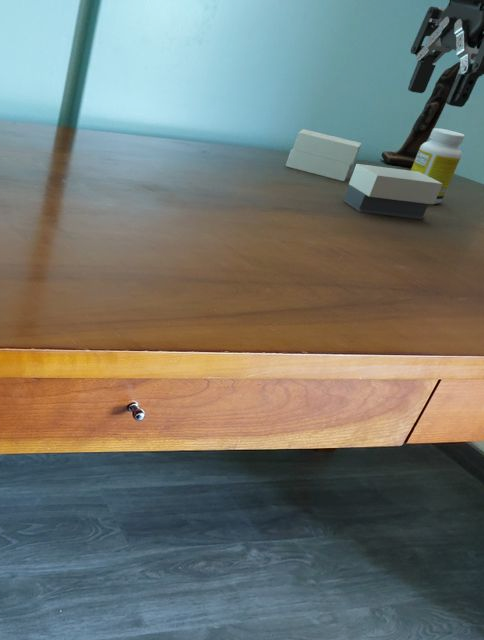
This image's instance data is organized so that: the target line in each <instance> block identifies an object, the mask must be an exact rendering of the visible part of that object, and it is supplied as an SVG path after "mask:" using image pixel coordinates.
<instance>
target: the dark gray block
mask: <svg viewBox="0 0 484 640" xmlns="http://www.w3.org/2000/svg"><path fill="white" fill-rule="evenodd" d="M343 199H344V203H346V204H347V205H348V206H350V207H352V208H353V209H355V210H357V211H358V212H360V213H367V214H375V215H381V216H382V215H383V216H384V215H385V216H390V217H391V216H392V217H400V218H401V217H402V218H408V219H416V220H425V219H426V218H425V217H426V216H425V214H426V211H427V209H428V206H429V204H425V203H417V202H409V201H401V200H392V199H384V198H376V197H369V196H367V195H366V194H364V193H362V192H361V191H359V190H358V189H356V188H354V187H353V186H351V185H349V184H348V187H347V190H346V192H345V195H344V197H343Z"/></svg>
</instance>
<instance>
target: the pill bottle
mask: <svg viewBox="0 0 484 640" xmlns="http://www.w3.org/2000/svg"><path fill="white" fill-rule="evenodd" d="M429 139H430V140H429V141H428V140H427V142H425V143H423V144H422V145H421V147H420V149H419V151H418V154H417V156H416V159H415V161H414V164H413V166H412V167H410V171H416V172H421V173H422V174H424V175H426V176H428V177H430V178H432V179H434V180H436V181H438V182H440V183H442V184H443V185H442V187H441V189H440V191H439V194H438V196H437V198H436V200H435V203H434V204H433V205H436V204H440V203H441V202H442V201H443V199H444V198H445V195H446V192H447V190H448V188H449V186H450V183H451V180H452V178H453V177H454V174H455V172H456V170H457V168H458V164H459V163H460V160H461V158H462V151H461V149H460V148H459V145H462V143H463V142H464V139H465V134H463V133H461V132H458V131H454V130H450V129H445V128H441V127H440V128H438V127H437V128H436V127H434V129H433V130H432V132H431V135H430V136H429Z"/></svg>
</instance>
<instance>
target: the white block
mask: <svg viewBox="0 0 484 640" xmlns="http://www.w3.org/2000/svg"><path fill="white" fill-rule="evenodd" d="M349 185H350V186H353V187H354V188H356V189H358V190H359V191H361V192H362V193H364V194H366V195H367V196H369V197H376V198H384V199H392V200H401V201H409V202H417V203H425V204H428V205H435V204H434V203H435V200H436V198H437V196H438V194H439V191H440V189H441V187H442V185H443V184H442V183H440V182H438V181H436V180H434V179H432V178H430V177H428V176H426V175H424V174H422V173H421V172H416V171H411V170H407V169H402V168H401V169H400V168H394V167H385V166H379V165H378V166H377V165H370V164H361V163H356V164H355V167H354V169H353V171H352V174H351V176H350V180H349V183H348V186H349Z"/></svg>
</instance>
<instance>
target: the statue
mask: <svg viewBox="0 0 484 640" xmlns="http://www.w3.org/2000/svg"><path fill="white" fill-rule="evenodd" d="M459 72H460V61H457V62H456V63H454V64H453V65H452V66H450V67H448V68H446V69H445V70H444V71H442V74H440V76H439V78H438V79H437V80H436V82H435V85H434V87H433V90H432V93H431V95H430V97H429V98H428V100H427V101H426V103H425V104H424V107H423V109H422V111H421V113H420V114H419V115H418V117H417V119H416V120H415V122H414V124H413V126H412V128H411V130H410V133H409V135H408V136H407V138H406V140H405V141H404V142H403V145H402V146H401V147H400V148H399V149H397V150H396V151H389V150H387V151H386V150H385V151H382V153H381V157H382V160H384V162H385V163H387V164H390V165H394V166H400V167H408V168H412V166H413V164H414V161H415V159H416V156H417V154H418V151H419V149H420V147H421V145H422V144H423V143H425V142H428V140H429V139H430V135H431V132H432V130H433V129H434V128H436V125H437V123H438V122H439V119H440V117H441V115H442V114H443V111H444V109H445V107H446V104H447V103H446V101H447V98H448V96H449V94H450V91H451V89H452V87H453V84H454V82H455V80H456V78H457V75H458V74H459Z"/></svg>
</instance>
